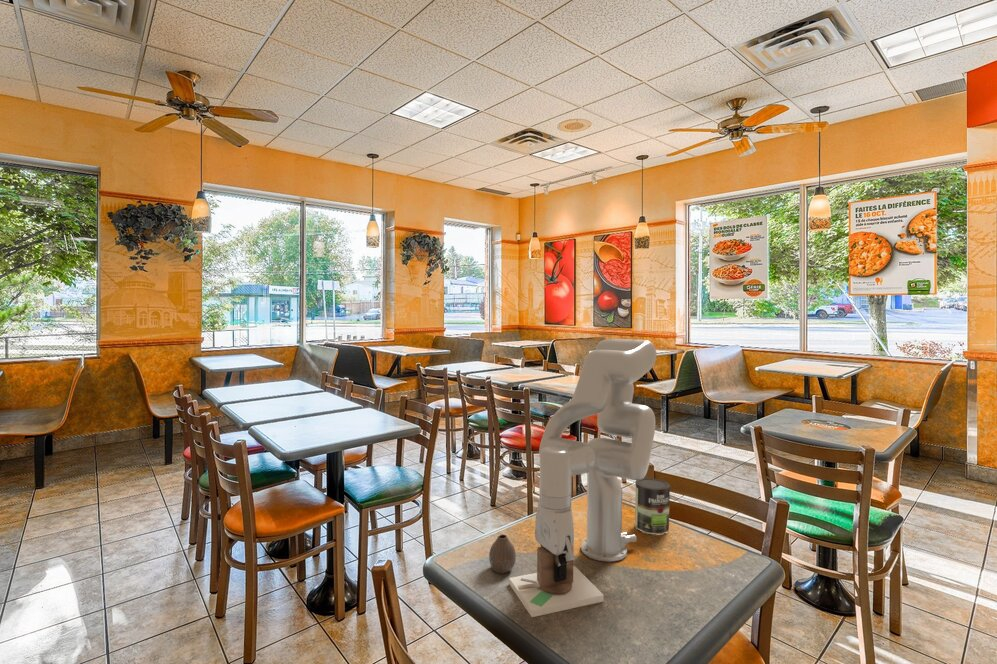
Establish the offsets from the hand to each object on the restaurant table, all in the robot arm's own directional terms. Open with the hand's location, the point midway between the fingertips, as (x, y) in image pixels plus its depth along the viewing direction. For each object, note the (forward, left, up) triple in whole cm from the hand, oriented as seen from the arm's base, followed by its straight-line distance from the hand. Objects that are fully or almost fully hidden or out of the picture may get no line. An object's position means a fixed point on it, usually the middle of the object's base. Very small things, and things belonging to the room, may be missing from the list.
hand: (554, 575), depth 117 cm
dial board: (0, 0, -4) cm, 4 cm away
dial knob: (+2, 0, -2) cm, 3 cm away
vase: (+8, -14, -4) cm, 17 cm away
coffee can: (-44, -22, -4) cm, 50 cm away
